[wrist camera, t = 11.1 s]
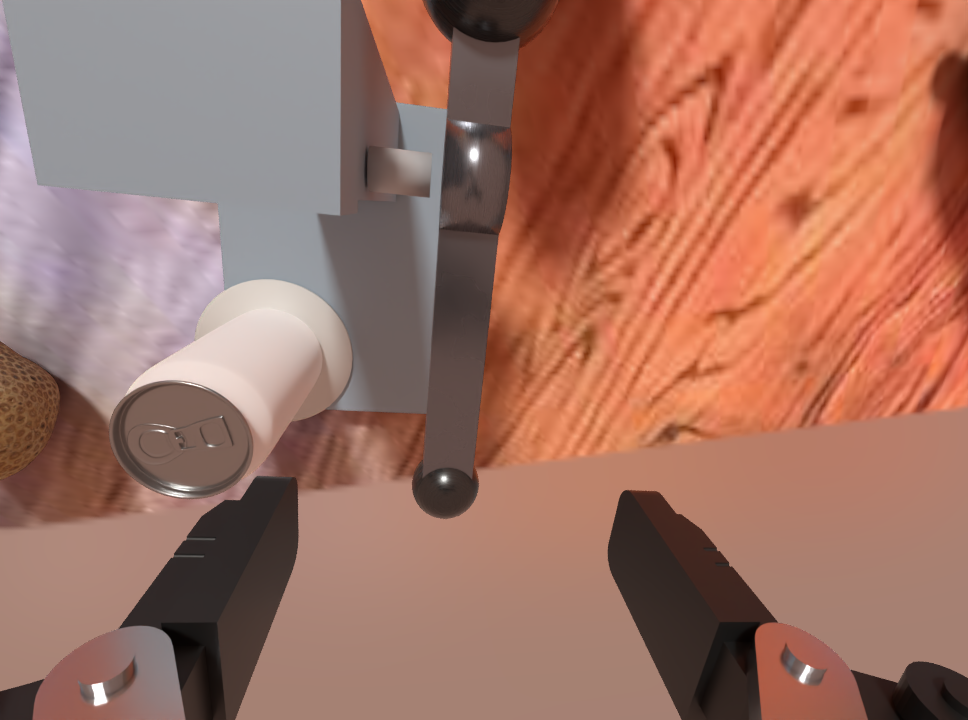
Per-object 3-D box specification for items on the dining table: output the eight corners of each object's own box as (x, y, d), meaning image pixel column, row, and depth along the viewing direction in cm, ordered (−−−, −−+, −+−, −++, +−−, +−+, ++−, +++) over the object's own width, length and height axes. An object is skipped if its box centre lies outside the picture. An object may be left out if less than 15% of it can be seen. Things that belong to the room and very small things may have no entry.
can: (208, 315, 29) (68, 386, 18) (309, 299, 30) (234, 358, 18) (240, 406, 31) (134, 520, 20) (335, 389, 32) (282, 492, 20)
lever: (394, 480, 22) (385, 548, 17) (421, -97, 15) (417, -218, 11) (488, 482, 22) (502, 548, 18) (555, -71, 15) (603, -174, 11)
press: (216, 405, 34) (-144, 746, 12) (187, 80, 27) (-679, -355, 6) (460, 415, 36) (502, 715, 15) (488, 121, 29) (633, -84, 8)
